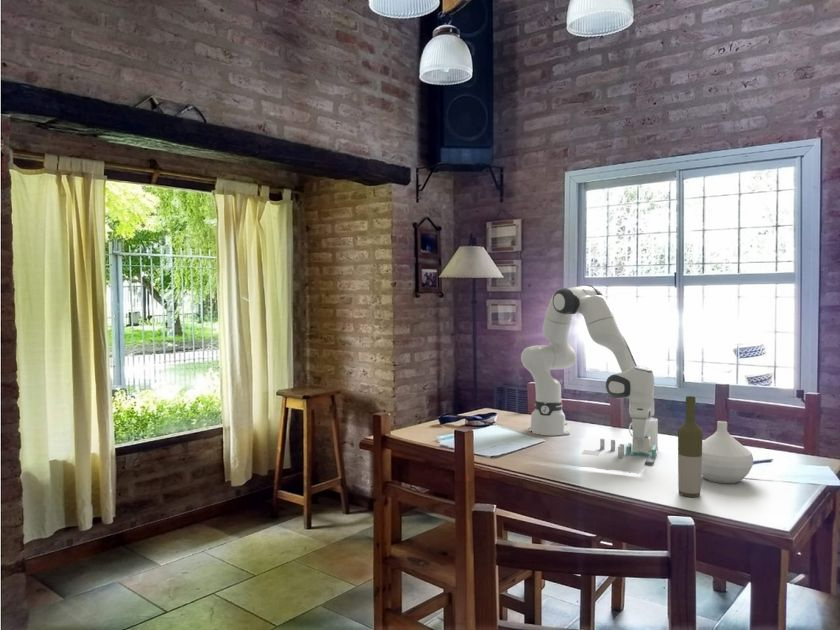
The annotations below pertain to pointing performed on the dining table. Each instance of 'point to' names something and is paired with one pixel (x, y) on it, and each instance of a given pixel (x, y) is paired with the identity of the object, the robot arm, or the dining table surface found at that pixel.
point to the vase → (724, 457)
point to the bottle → (689, 453)
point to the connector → (645, 444)
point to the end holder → (639, 453)
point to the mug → (651, 432)
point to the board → (620, 451)
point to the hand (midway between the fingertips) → (641, 446)
